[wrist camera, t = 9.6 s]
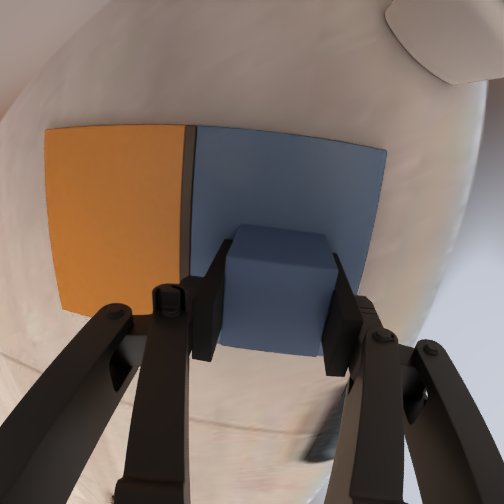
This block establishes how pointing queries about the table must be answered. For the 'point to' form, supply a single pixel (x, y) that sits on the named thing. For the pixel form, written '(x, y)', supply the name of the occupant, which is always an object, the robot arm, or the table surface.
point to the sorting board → (193, 203)
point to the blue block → (277, 290)
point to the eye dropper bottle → (452, 36)
